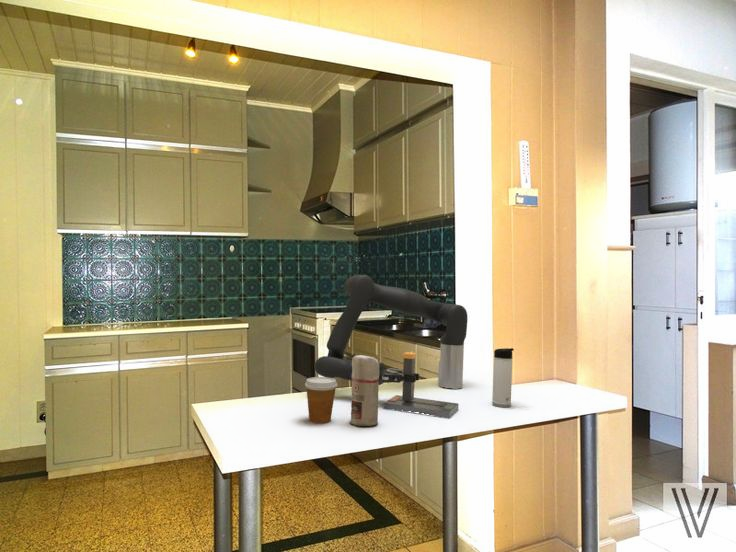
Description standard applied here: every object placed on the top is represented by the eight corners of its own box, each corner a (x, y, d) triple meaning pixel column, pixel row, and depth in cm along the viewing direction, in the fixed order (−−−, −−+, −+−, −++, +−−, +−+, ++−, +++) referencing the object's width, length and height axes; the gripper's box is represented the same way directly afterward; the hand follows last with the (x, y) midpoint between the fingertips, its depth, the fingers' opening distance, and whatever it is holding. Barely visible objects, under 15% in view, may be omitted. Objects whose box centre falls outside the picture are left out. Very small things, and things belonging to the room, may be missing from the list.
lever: (401, 400, 164) (403, 353, 164) (404, 397, 167) (406, 352, 167) (411, 401, 162) (412, 354, 162) (414, 399, 165) (416, 353, 165)
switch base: (383, 408, 161) (383, 401, 161) (396, 400, 172) (396, 394, 172) (449, 418, 153) (449, 411, 153) (458, 409, 164) (458, 403, 164)
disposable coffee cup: (297, 419, 146) (298, 379, 146) (322, 414, 152) (323, 375, 152) (317, 427, 139) (319, 384, 139) (342, 421, 146) (344, 380, 146)
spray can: (345, 420, 147) (348, 353, 147) (371, 418, 150) (374, 352, 150) (355, 428, 139) (357, 358, 139) (382, 426, 142) (384, 357, 142)
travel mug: (512, 408, 168) (514, 349, 168) (492, 406, 169) (494, 348, 169) (511, 404, 174) (513, 347, 174) (491, 402, 175) (493, 346, 175)
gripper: (361, 364, 164) (410, 370, 157) (377, 358, 177) (423, 363, 170) (360, 387, 164) (410, 393, 157) (376, 379, 177) (423, 385, 170)
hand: (417, 378), depth 163 cm, fingers closed on lever, 3 cm apart
